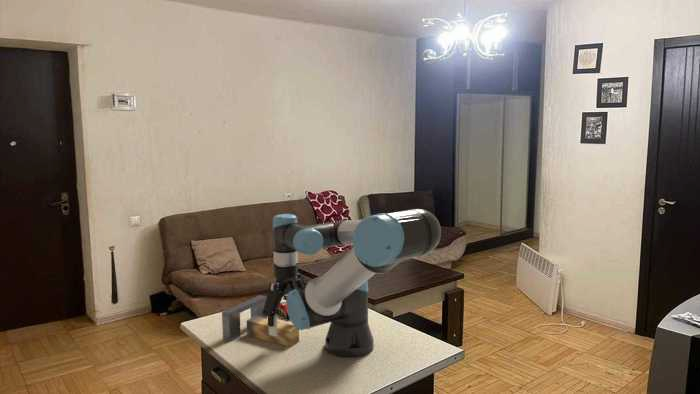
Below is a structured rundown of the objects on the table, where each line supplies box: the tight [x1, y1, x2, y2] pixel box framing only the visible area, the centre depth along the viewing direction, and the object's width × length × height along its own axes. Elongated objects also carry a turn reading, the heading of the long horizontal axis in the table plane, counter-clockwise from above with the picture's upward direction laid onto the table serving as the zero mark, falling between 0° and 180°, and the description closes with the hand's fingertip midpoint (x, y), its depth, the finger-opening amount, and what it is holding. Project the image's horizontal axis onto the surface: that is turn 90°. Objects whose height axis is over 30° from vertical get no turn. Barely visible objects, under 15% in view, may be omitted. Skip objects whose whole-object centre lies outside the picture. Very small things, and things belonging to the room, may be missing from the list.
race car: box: [276, 301, 290, 321], centre depth 190 cm, size 13×5×4 cm, turn 37°
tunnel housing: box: [221, 294, 268, 342], centre depth 175 cm, size 3×18×10 cm, turn 149°
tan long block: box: [246, 316, 300, 347], centre depth 169 cm, size 18×5×5 cm, turn 59°
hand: (286, 327), depth 166 cm, fingers open, 13 cm apart
